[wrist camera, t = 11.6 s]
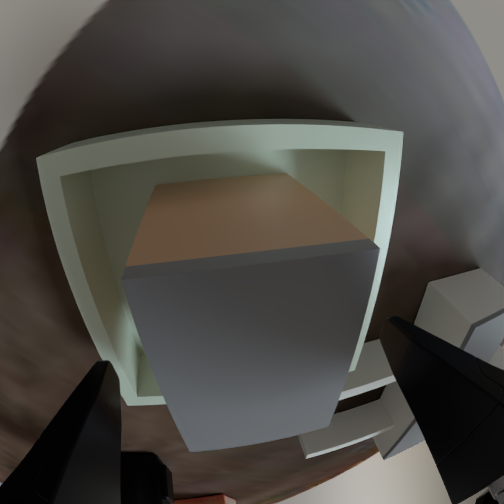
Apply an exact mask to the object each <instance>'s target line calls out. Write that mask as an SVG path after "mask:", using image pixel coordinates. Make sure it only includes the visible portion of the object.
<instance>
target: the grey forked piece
mask: <svg viewBox="0 0 504 504" xmlns="http://www.w3.org/2000/svg"><path fill="white" fill-rule="evenodd" d="M414 325H416V326H418V327H420V328H421V329H423V330H425V331H427V332H429V333H431V334H433V335H435V336H437V337H439V338H441V339H443V340H445V341H447V342H449V343H451V344H452V345H454V346H456V347H458V348H460V349H462V350H464V351H466V352H468V353H470V354H472V355H474V356H475V357H478V358H479V359H481V360H483V361H485V362H487V363H489V361H490V360H491V358H492V356H493V355H494V353H495V352H496V350H497V348H498V347H499V345H500V343H501V341H502V340H503V338H504V287H503V286H502V285H501V284H500V283H498V282H497V281H496V280H495V279H493V278H492V277H491V276H490V275H489V274H487V273H486V272H485V271H484V270H482V269H481V268H479V269H475V270H472V271H468V272H465V273H461V274H457V275H454V276H450V277H446V278H442V279H438V280H434V281H431V282H428V285H427V288H426V291H425V294H424V297H423V300H422V303H421V306H420V308H419V311H418V314H417V317H416V319H415V322H414ZM384 385H386V387H385V389H384V391H383V393H382V395H381V397H380V399H378V400H376V401H373V402H370V403H367V404H364V405H361V406H358V407H355V408H352V409H349V410H346V411H343V412H340V413H336V414H333V417H332V419H331V422H330V424H329V427H325V428H322V429H318V430H315V431H311V432H307V433H303V434H299V435H298V438H299V441H300V444H301V446H302V449H303V452H304V455H305V458H310V457H314V456H317V455H321V454H324V453H327V452H331V451H334V450H337V449H340V448H343V447H346V446H349V445H352V444H355V443H357V442H360V441H363V440H365V439H368V438H371V437H372V438H373V440H374V441H375V443H376V445H377V447H378V449H379V451H380V453H381V455H382V457H383V459H384V460H385V459H387V458H389V457H392V456H394V455H396V454H398V453H400V452H402V451H404V450H406V449H408V448H410V447H412V446H414V445H416V444H418V443H420V442H422V441H424V440H425V439H424V437H423V434H422V432H421V430H420V428H419V426H418V424H417V422H416V420H415V417H414V415H413V413H412V411H411V409H410V407H409V405H408V403H407V401H406V399H405V397H404V395H403V393H402V391H401V389H400V387H399V385H398V383H397V381H396V379H395V377H394V375H393V373H392V370H391V368H390V365H389V363H388V360H387V358H386V355H385V353H384V350H383V348H382V345H381V343H380V339H377V340H374V341H370V342H367V343H364V344H363V347H362V350H361V353H360V356H359V359H358V362H357V365H356V368H355V370H354V371H351V372H348V375H347V378H346V381H345V384H344V387H343V390H342V392H341V395H340V398H339V400H342V399H345V398H349V397H352V396H355V395H358V394H361V393H364V392H367V391H370V390H373V389H376V388H379V387H381V386H384Z"/></svg>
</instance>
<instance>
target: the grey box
mask: <svg viewBox="0 0 504 504" xmlns="http://www.w3.org/2000/svg"><path fill="white" fill-rule="evenodd" d="M379 252H380V248H379V247H378V246H377V245H376V244H375V243H374V242H373V241H371V240H370V239H369V238H368V237H367V236H366V235H364V234H363V233H362V232H361V231H360V230H358V229H357V228H356V227H355V226H354V225H352V224H351V223H350V222H349V221H348V220H346V219H345V218H344V217H343V216H342V215H340V214H339V213H338V212H337V211H335V210H334V209H333V208H332V207H330V206H329V205H328V204H327V203H325V202H324V201H323V200H322V199H320V198H319V197H318V196H316V195H315V194H314V193H313V192H311V191H310V190H309V189H307V188H306V187H305V186H303V185H302V184H301V183H299V182H298V181H297V180H295V179H294V178H293V177H291V176H290V175H289V174H268V175H252V176H238V177H226V178H215V179H204V180H194V181H185V182H176V183H168V184H160V185H155V188H154V190H153V192H152V195H151V197H150V200H149V202H148V205H147V207H146V210H145V212H144V215H143V218H142V220H141V223H140V226H139V228H138V231H137V234H136V237H135V239H134V242H133V245H132V248H131V251H130V254H129V257H128V260H127V263H126V266H125V269H124V272H123V275H122V278H121V281H122V285H123V288H124V292H125V295H126V298H127V301H128V305H129V308H130V311H131V314H132V317H133V320H134V323H135V326H136V329H137V332H138V334H139V337H140V340H141V343H142V346H143V348H144V351H145V354H146V356H147V359H148V361H149V364H150V366H151V369H152V371H153V374H154V376H155V379H156V381H157V384H158V386H159V388H160V391H161V393H162V395H163V397H164V400H165V402H166V404H167V406H168V409H169V411H170V413H171V415H172V417H173V419H174V421H175V423H176V425H177V427H178V430H179V432H180V434H181V436H182V438H183V439H184V441H185V443H186V445H187V447H188V449H189V451H190V452H197V451H207V450H216V449H225V448H232V447H239V446H245V445H251V444H257V443H262V442H268V441H273V440H277V439H282V438H287V437H291V436H295V435H299V434H303V433H307V432H311V431H315V430H318V429H322V428H325V427H329V424H330V422H331V419H332V417H333V414H334V411H335V409H336V406H337V403H338V401H339V398H340V395H341V392H342V390H343V387H344V384H345V381H346V378H347V375H348V372H349V369H350V366H351V363H352V359H353V356H354V353H355V350H356V346H357V343H358V339H359V336H360V332H361V329H362V325H363V322H364V318H365V314H366V310H367V306H368V302H369V298H370V294H371V290H372V285H373V281H374V276H375V272H376V267H377V262H378V257H379Z"/></svg>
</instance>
